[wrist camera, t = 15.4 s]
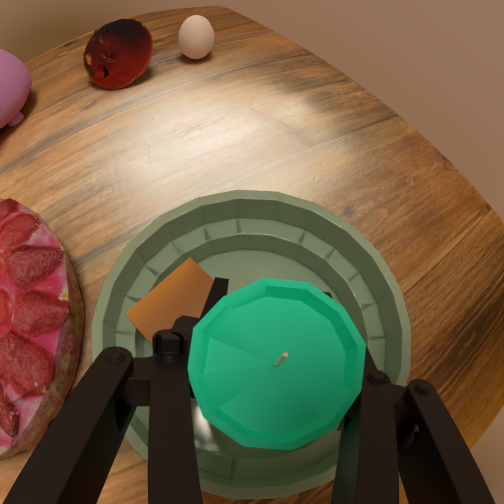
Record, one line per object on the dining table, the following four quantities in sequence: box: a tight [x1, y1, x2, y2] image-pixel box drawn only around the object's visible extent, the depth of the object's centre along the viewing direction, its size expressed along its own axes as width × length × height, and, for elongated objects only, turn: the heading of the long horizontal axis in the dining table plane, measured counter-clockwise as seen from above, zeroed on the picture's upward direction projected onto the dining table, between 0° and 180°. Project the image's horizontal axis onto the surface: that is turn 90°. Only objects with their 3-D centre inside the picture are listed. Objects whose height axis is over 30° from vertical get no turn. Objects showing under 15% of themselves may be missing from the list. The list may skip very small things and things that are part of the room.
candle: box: [187, 278, 366, 450], centre depth 14 cm, size 6×6×12 cm
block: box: [125, 258, 228, 345], centre depth 21 cm, size 6×6×6 cm
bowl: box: [92, 190, 411, 499], centre depth 21 cm, size 21×21×6 cm
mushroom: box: [84, 19, 153, 89], centre depth 39 cm, size 12×12×15 cm
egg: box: [178, 15, 214, 59], centre depth 39 cm, size 5×5×8 cm
